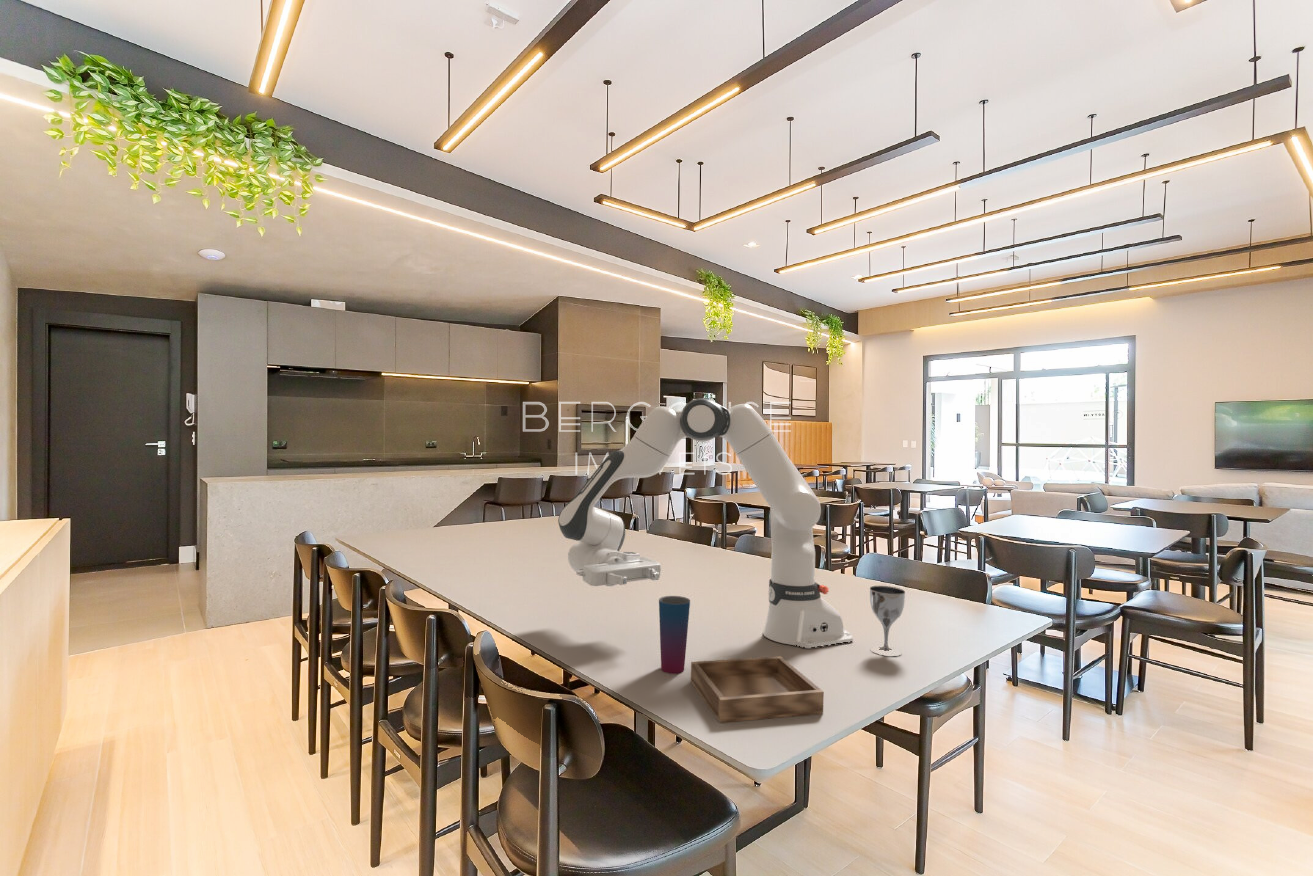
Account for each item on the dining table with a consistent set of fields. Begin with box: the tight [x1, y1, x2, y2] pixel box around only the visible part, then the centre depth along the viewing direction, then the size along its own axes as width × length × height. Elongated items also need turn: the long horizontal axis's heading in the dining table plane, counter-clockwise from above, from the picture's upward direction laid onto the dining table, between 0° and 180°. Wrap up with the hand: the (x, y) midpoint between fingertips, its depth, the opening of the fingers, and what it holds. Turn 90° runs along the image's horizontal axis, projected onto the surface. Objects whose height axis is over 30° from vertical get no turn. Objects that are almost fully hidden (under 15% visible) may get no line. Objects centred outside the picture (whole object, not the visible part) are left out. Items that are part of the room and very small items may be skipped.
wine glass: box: [869, 585, 906, 651], centre depth 140 cm, size 8×8×15 cm
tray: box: [690, 656, 825, 724], centre depth 113 cm, size 20×18×4 cm
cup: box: [658, 595, 691, 674], centre depth 126 cm, size 7×7×15 cm
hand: (640, 579), depth 136 cm, fingers open, 8 cm apart
